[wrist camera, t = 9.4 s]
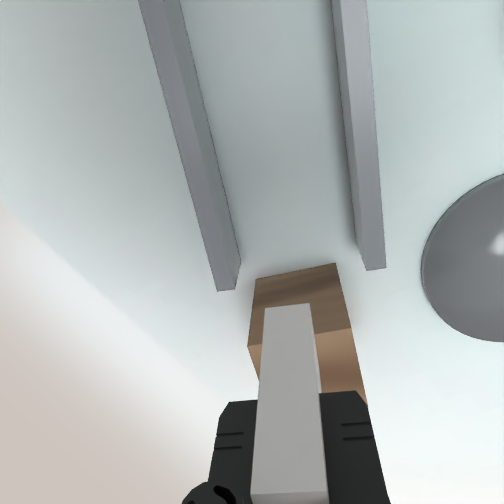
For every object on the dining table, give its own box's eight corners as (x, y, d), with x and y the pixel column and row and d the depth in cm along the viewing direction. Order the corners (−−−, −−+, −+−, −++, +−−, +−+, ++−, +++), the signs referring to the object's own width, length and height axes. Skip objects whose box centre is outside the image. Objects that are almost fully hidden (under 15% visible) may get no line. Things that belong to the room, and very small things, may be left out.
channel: (119, -154, 21) (74, -210, 17) (334, -222, 20) (348, -304, 15) (225, 263, 31) (214, 299, 26) (374, 241, 29) (390, 275, 25)
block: (255, 279, 31) (247, 346, 24) (335, 262, 30) (351, 327, 23) (275, 342, 34) (272, 420, 27) (349, 328, 33) (368, 406, 26)
